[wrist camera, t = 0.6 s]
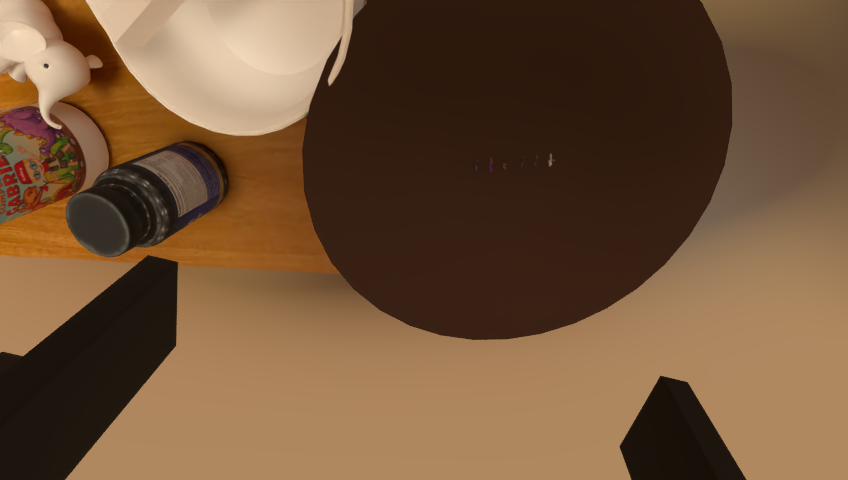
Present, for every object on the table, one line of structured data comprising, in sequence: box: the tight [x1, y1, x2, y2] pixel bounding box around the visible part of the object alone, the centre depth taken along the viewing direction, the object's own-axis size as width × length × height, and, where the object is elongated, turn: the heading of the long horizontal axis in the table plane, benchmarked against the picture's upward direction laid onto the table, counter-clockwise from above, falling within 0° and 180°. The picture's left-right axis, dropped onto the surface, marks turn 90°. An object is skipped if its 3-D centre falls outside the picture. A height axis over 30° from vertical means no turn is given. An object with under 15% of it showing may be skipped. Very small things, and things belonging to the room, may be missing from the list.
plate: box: [302, 0, 732, 340], centre depth 33 cm, size 28×28×4 cm
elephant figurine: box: [0, 0, 103, 129], centre depth 37 cm, size 7×12×6 cm
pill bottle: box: [66, 142, 228, 257], centre depth 37 cm, size 6×6×11 cm
